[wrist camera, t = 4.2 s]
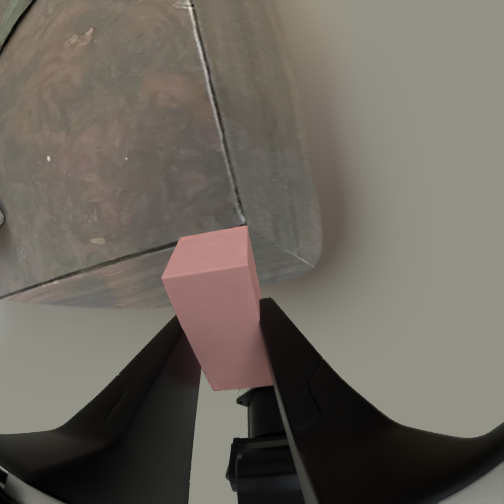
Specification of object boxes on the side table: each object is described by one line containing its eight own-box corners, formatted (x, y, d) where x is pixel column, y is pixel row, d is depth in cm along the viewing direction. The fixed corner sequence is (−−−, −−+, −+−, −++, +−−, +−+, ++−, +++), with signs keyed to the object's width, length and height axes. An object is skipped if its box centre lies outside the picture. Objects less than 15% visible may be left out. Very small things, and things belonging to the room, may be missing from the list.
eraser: (269, 338, 11) (274, 385, 9) (217, 344, 11) (213, 391, 9) (247, 224, 8) (248, 264, 6) (180, 236, 9) (160, 278, 6)
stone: (-3, 58, 9) (-22, 50, 8) (7, 57, 11) (-13, 49, 9) (61, -47, 5) (34, -46, 3) (69, -42, 6) (42, -42, 5)
